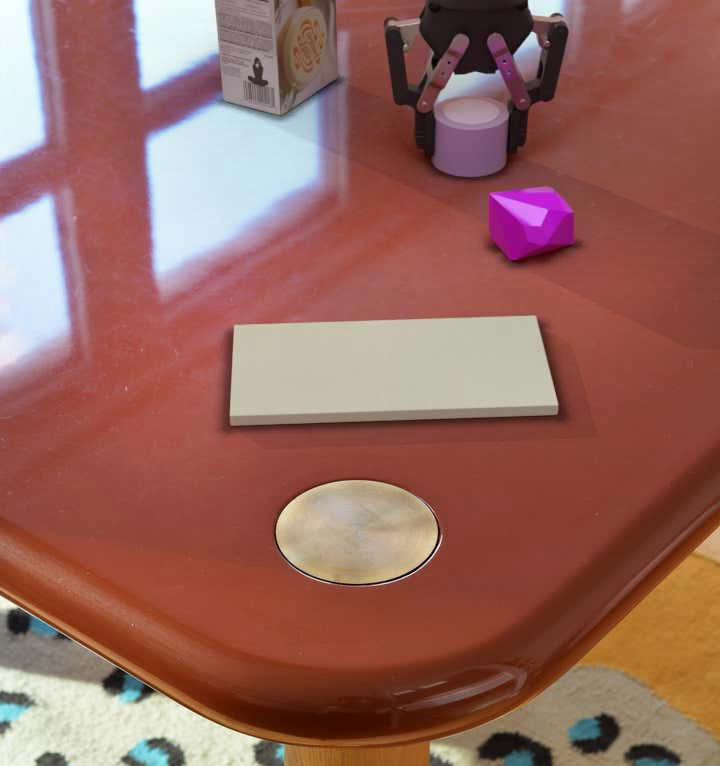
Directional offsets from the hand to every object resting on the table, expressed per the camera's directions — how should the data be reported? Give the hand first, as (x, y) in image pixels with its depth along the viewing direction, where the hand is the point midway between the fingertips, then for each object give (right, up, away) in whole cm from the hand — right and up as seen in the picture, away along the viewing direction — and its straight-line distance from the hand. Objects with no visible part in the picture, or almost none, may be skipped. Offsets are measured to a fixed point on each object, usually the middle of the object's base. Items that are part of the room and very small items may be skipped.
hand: (469, 150), depth 108 cm
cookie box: (-16, +8, +11) cm, 21 cm away
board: (-7, -20, -21) cm, 30 cm away
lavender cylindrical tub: (0, -1, +1) cm, 1 cm away
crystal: (+4, -10, -10) cm, 14 cm away
